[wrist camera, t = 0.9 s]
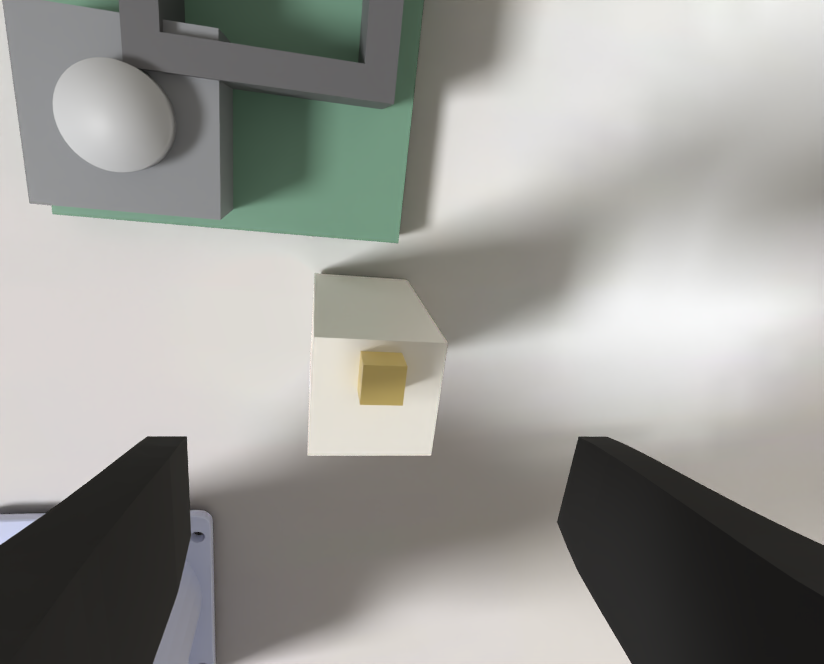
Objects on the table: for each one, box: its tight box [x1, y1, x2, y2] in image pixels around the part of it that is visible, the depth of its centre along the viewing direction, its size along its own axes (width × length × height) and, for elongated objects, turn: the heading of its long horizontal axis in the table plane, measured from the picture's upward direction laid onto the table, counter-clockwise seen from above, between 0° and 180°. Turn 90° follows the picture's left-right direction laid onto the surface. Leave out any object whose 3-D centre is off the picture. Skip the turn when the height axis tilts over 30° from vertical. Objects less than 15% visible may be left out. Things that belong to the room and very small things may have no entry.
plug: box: [307, 273, 448, 456], centre depth 15 cm, size 3×3×7 cm
